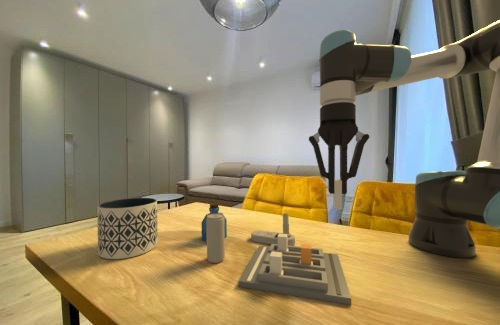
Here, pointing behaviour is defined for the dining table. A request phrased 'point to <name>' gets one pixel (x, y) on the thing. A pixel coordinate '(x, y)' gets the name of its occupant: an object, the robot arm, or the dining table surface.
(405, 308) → the dining table surface
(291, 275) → the panel
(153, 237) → the planter
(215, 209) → the perfume bottle
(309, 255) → the block
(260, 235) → the electronic device
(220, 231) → the beverage can
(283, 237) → the breaker far
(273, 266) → the block
